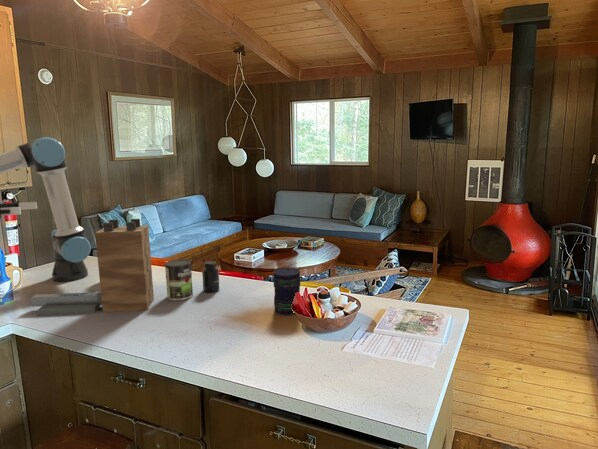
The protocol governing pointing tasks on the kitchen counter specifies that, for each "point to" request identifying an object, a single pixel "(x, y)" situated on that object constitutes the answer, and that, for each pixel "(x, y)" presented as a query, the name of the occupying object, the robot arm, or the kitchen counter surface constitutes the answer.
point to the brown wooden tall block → (124, 266)
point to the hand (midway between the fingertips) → (28, 208)
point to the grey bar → (67, 299)
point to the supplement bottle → (210, 277)
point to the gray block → (67, 309)
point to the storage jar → (285, 289)
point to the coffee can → (179, 279)
